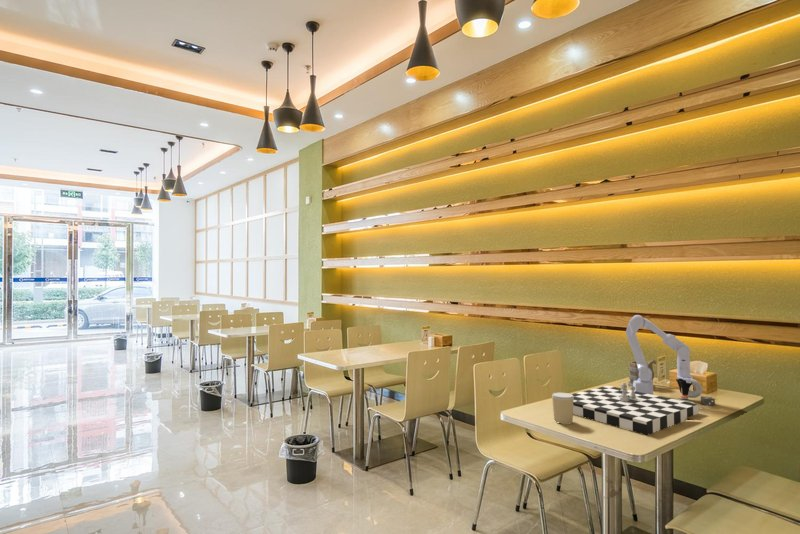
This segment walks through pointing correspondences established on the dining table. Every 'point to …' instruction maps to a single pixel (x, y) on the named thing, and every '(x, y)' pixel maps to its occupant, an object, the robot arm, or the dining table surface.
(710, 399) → the die
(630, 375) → the tankard
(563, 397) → the coffee cup
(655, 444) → the dining table surface
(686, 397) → the pawn
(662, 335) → the robot arm
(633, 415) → the checkerboard
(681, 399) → the track board
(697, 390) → the donut
